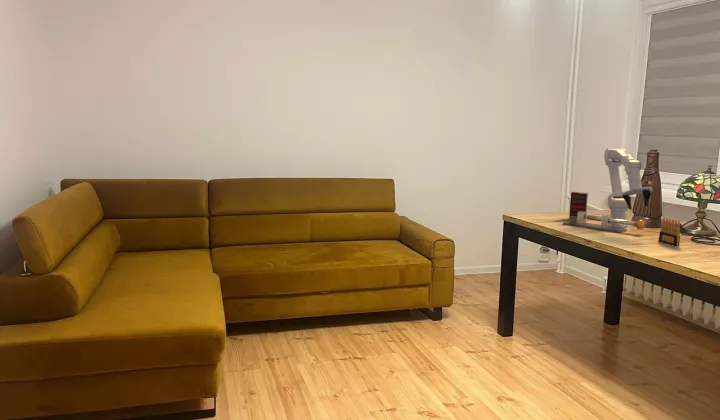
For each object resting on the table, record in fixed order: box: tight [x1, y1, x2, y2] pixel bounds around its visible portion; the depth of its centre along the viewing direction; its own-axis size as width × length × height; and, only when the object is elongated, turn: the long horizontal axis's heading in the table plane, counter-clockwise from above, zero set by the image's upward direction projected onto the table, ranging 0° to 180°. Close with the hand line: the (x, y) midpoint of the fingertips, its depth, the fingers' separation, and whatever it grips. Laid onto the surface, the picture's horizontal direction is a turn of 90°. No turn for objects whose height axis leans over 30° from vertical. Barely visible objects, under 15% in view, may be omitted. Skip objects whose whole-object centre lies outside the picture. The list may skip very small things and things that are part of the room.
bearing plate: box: [562, 211, 628, 234], centre depth 295 cm, size 10×30×8 cm, turn 46°
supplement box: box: [568, 191, 589, 221], centre depth 317 cm, size 9×5×16 cm, turn 58°
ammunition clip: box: [658, 217, 681, 247], centre depth 258 cm, size 11×2×12 cm, turn 15°
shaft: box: [586, 214, 645, 231], centre depth 288 cm, size 5×28×5 cm, turn 46°
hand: (638, 207), depth 274 cm, fingers open, 7 cm apart
